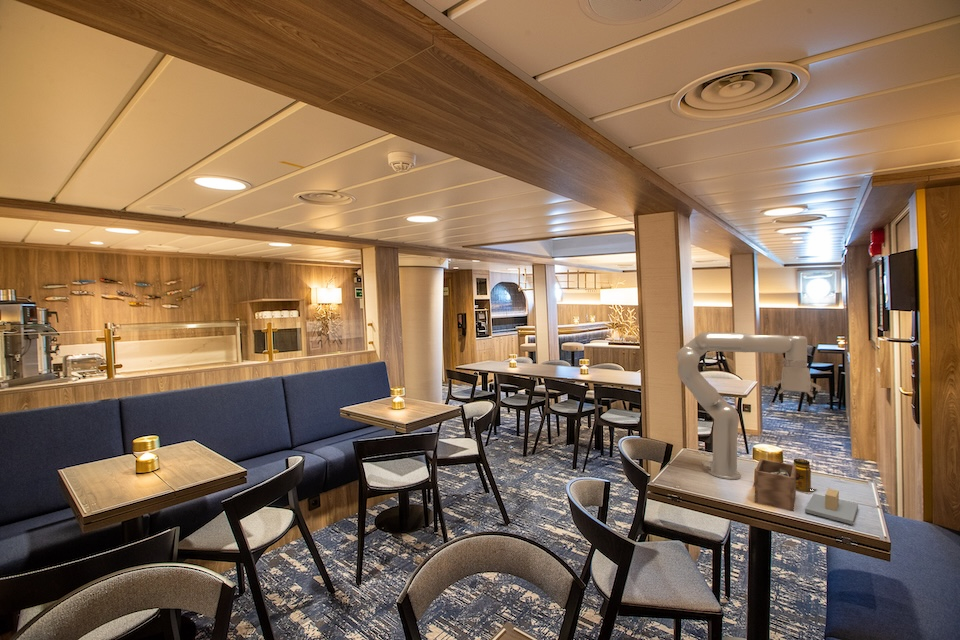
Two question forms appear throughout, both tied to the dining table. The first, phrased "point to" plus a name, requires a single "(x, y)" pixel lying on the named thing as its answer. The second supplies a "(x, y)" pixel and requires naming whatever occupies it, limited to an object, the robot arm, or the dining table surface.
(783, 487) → the box
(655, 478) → the dining table surface
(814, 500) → the lid
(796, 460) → the condiment
